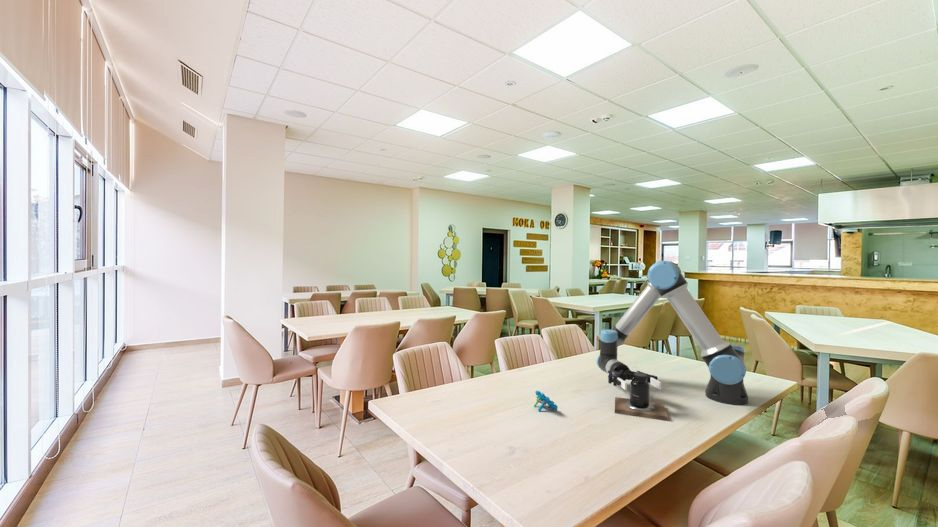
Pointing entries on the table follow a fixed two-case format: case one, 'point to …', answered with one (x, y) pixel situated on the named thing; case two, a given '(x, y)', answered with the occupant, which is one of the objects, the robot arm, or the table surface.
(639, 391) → the supplement bottle
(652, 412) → the walnut board
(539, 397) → the gear
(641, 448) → the table surface
